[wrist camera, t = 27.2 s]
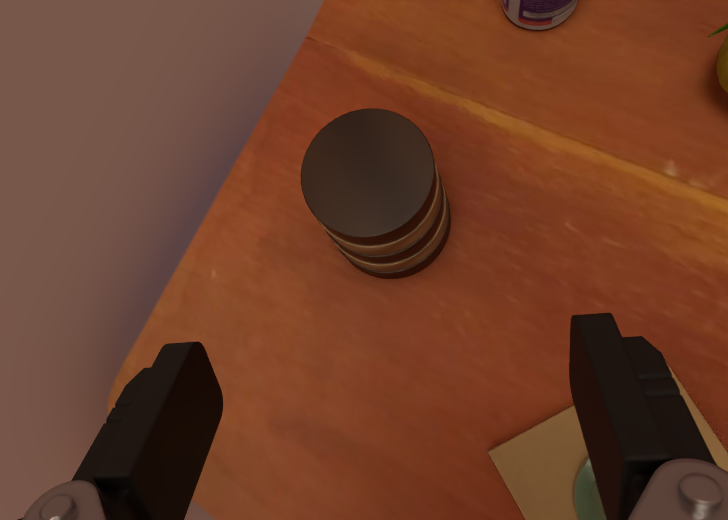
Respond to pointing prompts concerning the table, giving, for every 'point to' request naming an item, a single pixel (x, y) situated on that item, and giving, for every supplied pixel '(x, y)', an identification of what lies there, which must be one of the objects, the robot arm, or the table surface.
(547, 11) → the pill bottle
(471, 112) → the table surface
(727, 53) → the lemon
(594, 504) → the ring spool
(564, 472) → the mat
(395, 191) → the stack
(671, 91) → the table surface
